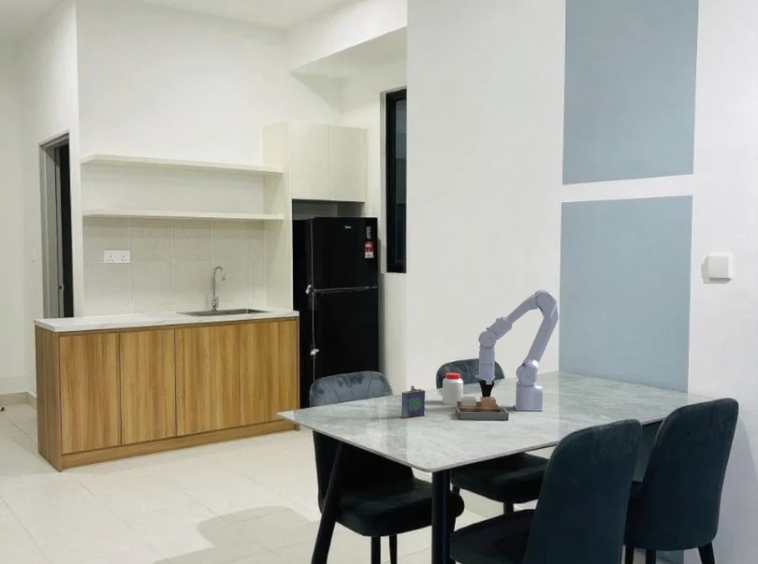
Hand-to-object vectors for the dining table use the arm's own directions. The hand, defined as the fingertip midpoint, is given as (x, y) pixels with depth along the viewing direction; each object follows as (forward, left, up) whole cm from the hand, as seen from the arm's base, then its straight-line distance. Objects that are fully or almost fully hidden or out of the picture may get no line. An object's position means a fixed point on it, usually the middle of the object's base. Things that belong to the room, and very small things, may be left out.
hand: (486, 400), depth 266 cm
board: (+4, +5, -3) cm, 6 cm away
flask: (+28, +16, -3) cm, 32 cm away
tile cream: (+7, +5, -1) cm, 8 cm away
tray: (+4, +15, -3) cm, 16 cm away
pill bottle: (+12, -8, -3) cm, 15 cm away
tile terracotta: (0, +5, -1) cm, 5 cm away
